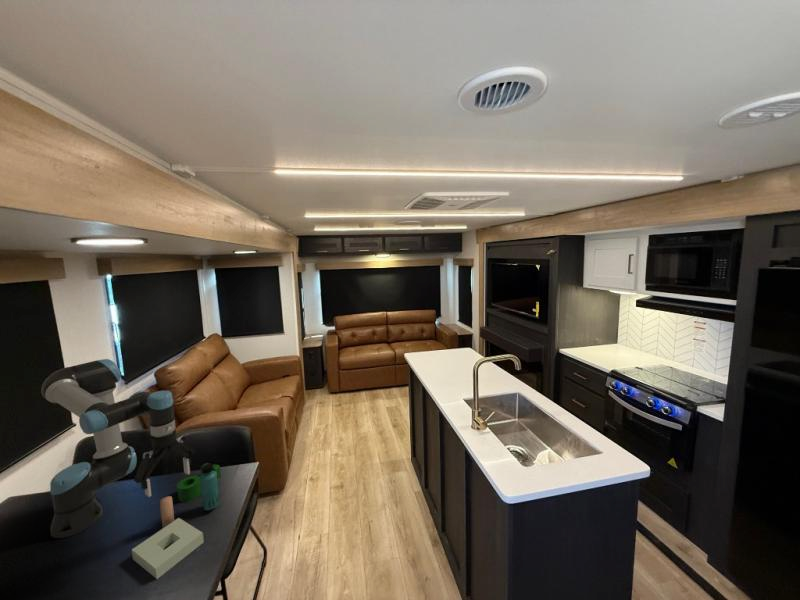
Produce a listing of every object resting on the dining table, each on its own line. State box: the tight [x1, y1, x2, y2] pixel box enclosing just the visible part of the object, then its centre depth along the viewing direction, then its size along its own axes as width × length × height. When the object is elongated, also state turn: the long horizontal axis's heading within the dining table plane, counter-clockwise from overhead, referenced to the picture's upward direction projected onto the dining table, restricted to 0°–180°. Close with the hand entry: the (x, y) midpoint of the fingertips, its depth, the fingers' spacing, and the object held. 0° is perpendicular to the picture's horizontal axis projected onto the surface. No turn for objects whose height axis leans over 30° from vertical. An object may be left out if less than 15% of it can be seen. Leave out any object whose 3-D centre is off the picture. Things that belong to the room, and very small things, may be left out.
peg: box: [159, 495, 175, 529], centre depth 129 cm, size 4×4×12 cm
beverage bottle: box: [199, 463, 220, 511], centre depth 138 cm, size 6×7×20 cm
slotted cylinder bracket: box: [176, 462, 221, 503], centre depth 152 cm, size 18×9×6 cm, turn 167°
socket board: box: [131, 517, 204, 580], centre depth 119 cm, size 16×16×4 cm
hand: (168, 483), depth 123 cm, fingers open, 13 cm apart
